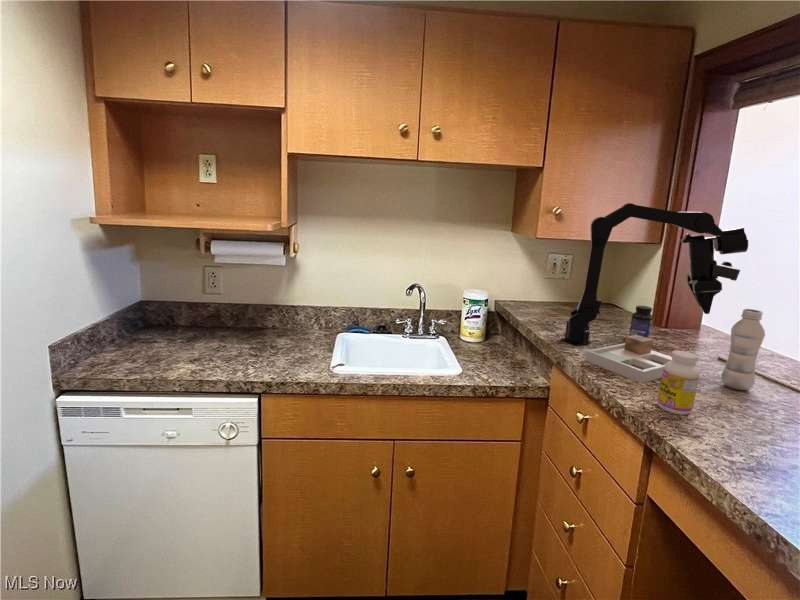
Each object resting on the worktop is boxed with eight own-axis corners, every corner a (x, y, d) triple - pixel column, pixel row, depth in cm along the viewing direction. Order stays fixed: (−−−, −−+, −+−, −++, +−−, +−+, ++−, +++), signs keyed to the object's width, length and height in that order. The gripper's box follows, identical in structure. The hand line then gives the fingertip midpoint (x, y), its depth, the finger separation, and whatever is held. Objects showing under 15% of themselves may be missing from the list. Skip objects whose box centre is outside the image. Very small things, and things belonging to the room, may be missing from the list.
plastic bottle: (754, 396, 107) (773, 315, 102) (719, 388, 110) (737, 310, 106) (750, 387, 112) (768, 310, 108) (718, 380, 116) (734, 306, 111)
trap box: (584, 360, 126) (586, 350, 125) (632, 350, 137) (634, 341, 136) (641, 383, 112) (643, 371, 111) (689, 369, 122) (692, 359, 122)
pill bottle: (651, 342, 146) (657, 310, 143) (631, 340, 147) (637, 308, 144) (645, 337, 152) (651, 305, 149) (626, 335, 153) (631, 304, 150)
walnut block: (624, 349, 131) (626, 336, 130) (634, 347, 133) (636, 334, 132) (640, 355, 127) (642, 341, 126) (650, 352, 129) (653, 339, 128)
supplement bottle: (650, 401, 101) (660, 348, 98) (677, 402, 102) (688, 348, 99) (669, 416, 94) (681, 359, 92) (698, 416, 95) (711, 359, 92)
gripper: (744, 257, 114) (746, 316, 116) (729, 249, 130) (731, 301, 133) (693, 262, 119) (696, 318, 122) (684, 254, 136) (687, 304, 138)
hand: (704, 310), depth 128 cm, fingers open, 9 cm apart
